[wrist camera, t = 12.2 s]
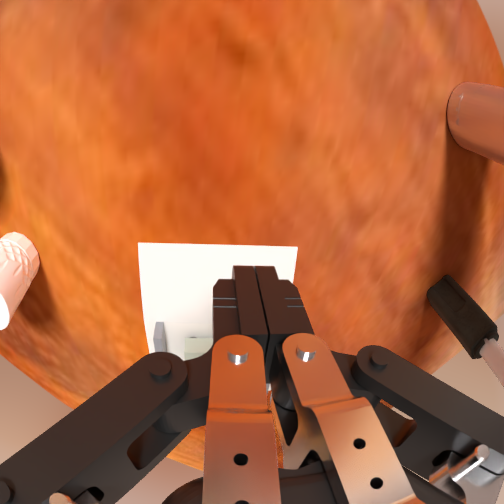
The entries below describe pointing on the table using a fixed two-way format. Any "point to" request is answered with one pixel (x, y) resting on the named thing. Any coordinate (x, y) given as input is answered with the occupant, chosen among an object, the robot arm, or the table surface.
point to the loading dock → (194, 286)
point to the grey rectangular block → (196, 347)
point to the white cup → (15, 272)
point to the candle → (468, 323)
